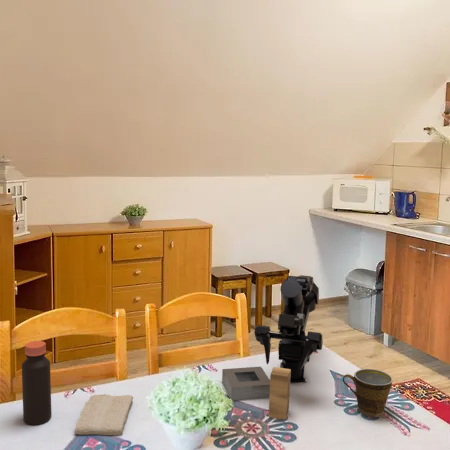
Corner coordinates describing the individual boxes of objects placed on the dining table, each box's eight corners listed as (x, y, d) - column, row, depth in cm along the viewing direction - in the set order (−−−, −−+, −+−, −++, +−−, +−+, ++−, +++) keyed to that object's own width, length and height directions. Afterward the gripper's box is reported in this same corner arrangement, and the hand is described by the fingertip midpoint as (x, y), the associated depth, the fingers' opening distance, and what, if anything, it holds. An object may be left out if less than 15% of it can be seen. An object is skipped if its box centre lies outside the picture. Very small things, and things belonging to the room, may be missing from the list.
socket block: (260, 378, 159) (260, 366, 158) (272, 397, 147) (272, 384, 147) (222, 381, 156) (222, 369, 156) (231, 400, 145) (231, 387, 144)
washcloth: (134, 401, 144) (133, 391, 143) (123, 438, 126) (123, 426, 126) (90, 401, 143) (90, 391, 143) (74, 437, 126) (73, 426, 125)
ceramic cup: (390, 406, 144) (393, 372, 143) (389, 424, 135) (392, 387, 133) (342, 397, 149) (345, 364, 147) (338, 414, 139) (340, 379, 138)
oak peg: (272, 408, 141) (273, 366, 139) (288, 411, 140) (290, 369, 138) (268, 416, 137) (270, 373, 135) (285, 419, 136) (287, 376, 134)
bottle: (25, 428, 128) (22, 351, 125) (21, 415, 134) (19, 341, 131) (53, 422, 131) (51, 347, 128) (49, 409, 137) (47, 337, 134)
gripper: (257, 297, 146) (246, 349, 138) (324, 305, 141) (317, 359, 133) (261, 315, 155) (252, 365, 146) (325, 323, 150) (318, 375, 141)
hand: (283, 366), depth 141 cm, fingers open, 9 cm apart
